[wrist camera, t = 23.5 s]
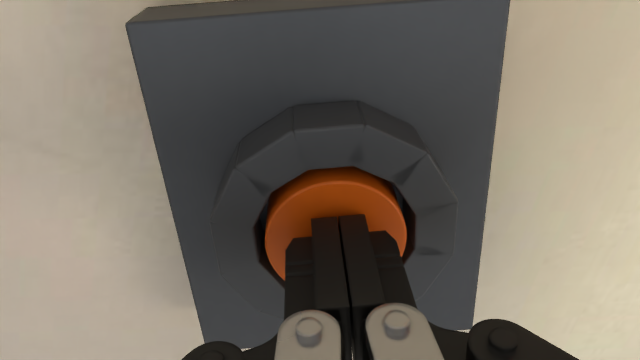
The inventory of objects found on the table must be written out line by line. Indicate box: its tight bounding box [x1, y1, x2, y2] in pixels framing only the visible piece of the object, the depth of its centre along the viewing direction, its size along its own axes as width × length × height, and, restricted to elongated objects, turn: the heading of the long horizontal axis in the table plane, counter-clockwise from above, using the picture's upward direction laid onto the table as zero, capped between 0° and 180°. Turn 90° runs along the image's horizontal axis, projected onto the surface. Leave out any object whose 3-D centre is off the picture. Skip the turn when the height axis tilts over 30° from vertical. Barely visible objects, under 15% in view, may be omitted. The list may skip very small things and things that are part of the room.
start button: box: [265, 166, 407, 281], centre depth 15 cm, size 4×4×2 cm
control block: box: [125, 0, 510, 349], centre depth 16 cm, size 12×10×4 cm
